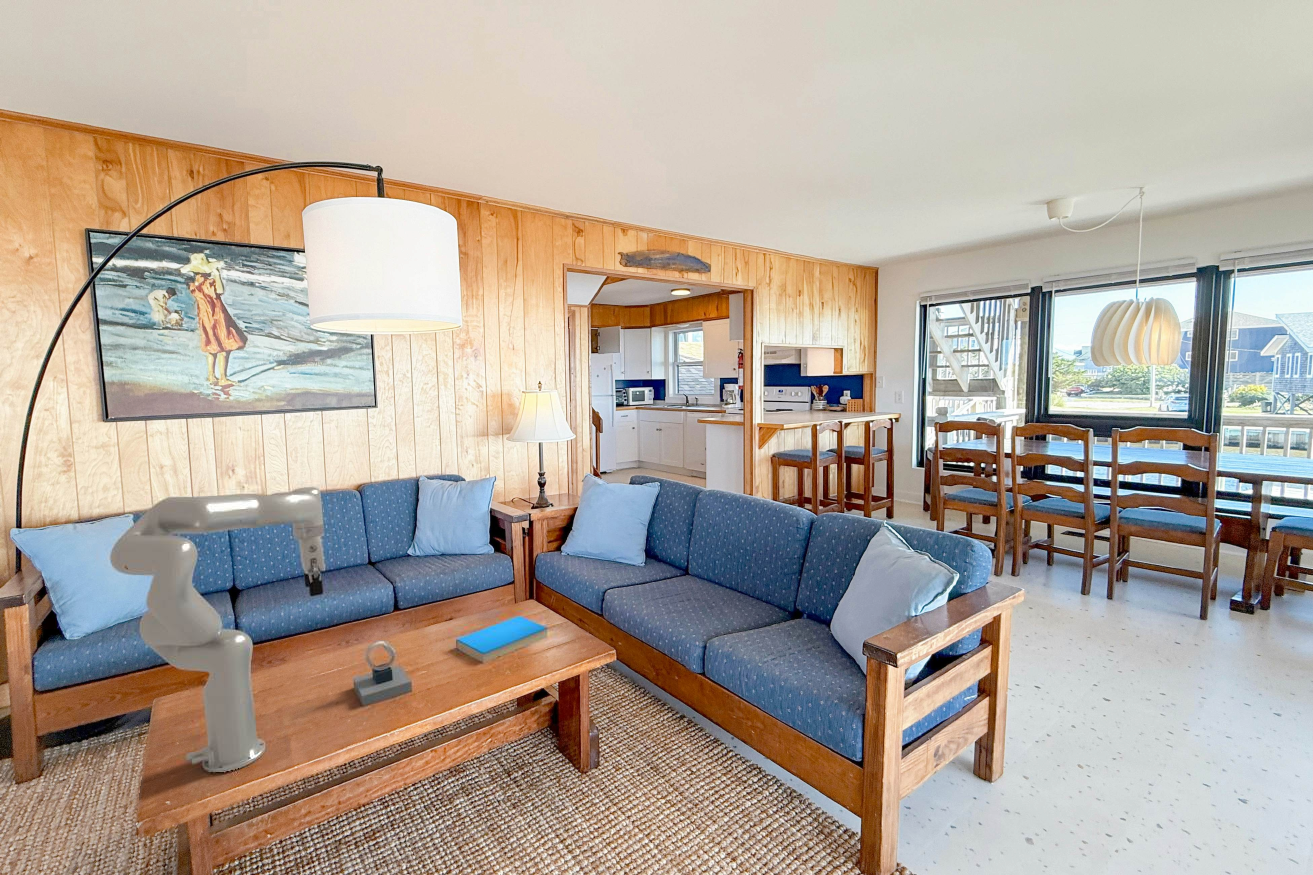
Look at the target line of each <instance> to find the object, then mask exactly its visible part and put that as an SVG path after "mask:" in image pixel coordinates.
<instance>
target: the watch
mask: <svg viewBox="0 0 1313 875" xmlns="http://www.w3.org/2000/svg"><path fill="white" fill-rule="evenodd" d="M380 645H381V646H382V647H383V649H384V650H385V651H386V652H387V653H388V654H389V655H390V656H391V658H390V660H389V661H388V662H386V663H382V664H378V665H375V664H374V663H373V662H372V661H371V659H370V657H369V655H370V653H371V651H372V650H374V648H376V647H378V646H380ZM396 654H397V652H396V650H395V649H394V648H393V646H391V644H390V643H389V642H388V641H387V640H384V641H383V640H379V641H375V642H374V643H372V644H370V646H368V648H367V650H366V652H365V659H366V662H367V664H368V665H369V667H370V668H371V673H372V676H373V679H374V681H375V682H376V684H377V685H378V684H381V683H385V682H388V681H391V680H393V676H392V669H391V667H392V665H393V663H395V660H396V658H397V657H396Z"/></svg>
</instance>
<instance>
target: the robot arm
mask: <svg viewBox="0 0 1313 875" xmlns="http://www.w3.org/2000/svg"><path fill="white" fill-rule="evenodd" d="M322 503H323V502H322V494H321V491H320V489H319V487H318V488H317V487H315V486H308V487H307V486H306V487H298V488H295V489H293V490H291V491H283V492H275V493H270V494H262V493H237V494H236V493H235V494H223V495H221V494H220V495H206V496H205V495H204V496H170V497H166V498H163V499H161V500H160V501H158V502H157V503H155V504H154V505H153V506H151V508H149V509H148V510H147V511H146V512H145V513H143V514H142V516H140V517H139V518H138V520H137V521H135V523H133V524H132V525H131V527H129V529H127V530H126V531H125V532H124V533H123V534H122V535H121V537H119V539H118V540H116V542H115V543H114V545H113V547H112V549H111V551H110V555H109V560H110V564H111V566H112V567H113V569H114V570H116V571H117V572H119V573H121V574H123V575H131V576H153V577H152V580H151V582H150V586H149V589H148V592H147V596H146V599H145V605H146V608H147V610H146V611H145V612H144V614H143V616H141V619H140V623H139V633H140V637H141V639H142V640H143V642H144V643H145V644H146V645H147V646H148V647H150V648H151V649H152V651H154V652H155V653H156V654H157V655H159V657H161V658H162V659H163V660H164V661H166V662H167V663H168V664H169V665H170V666H172V667H175V669H177V670H183V671H192V672H193V671H196V672H198V671H199V672H206V673H209V676H208V678H207V681H206V682H205V685H204V686H203V691H202V699H203V706H204V714H205V715H204V716H205V722H206V725H205V726H206V732H207V742H206V746H204V747H202V748H201V749H198V750H196V751H192V752H188V753H185V761H186V763H190V762H191V764H192V765H197V764H199V763H201V762H202V769H203V768H204V769H205V770H207V771H210V772H224V773H227V772H226V771H229V772H232V771H231V770H233V771H236V770H238V768H239V769H241V768H243V767H245V766H248V765H249V764H252V763H254V762H255V761H256V760H258V759H259V758H260V757H262V755H263V754H265V751H266V749H267V747H266V746H267V745H266V741H265V740H264V739H262V738H259V737H258V733H257V723H256V714H255V704H254V695H253V687H252V675H251V674H252V673H251V672H252V671H251V670H252V668H251V667H252V657H253V652H254V651H253V649H254V644H253V641H252V638H251V637H250V635H248V634H247V633H246V632H244V631H241V630H237V629H232V628H231V629H229V628H223V622H222V618H221V616H220V614H219V613H218V611H217V610H216V609H215V608H214V607H213V606H211V604H210V603H209V602H208V600H206V599H205V598H204V597H203V596H202V595H201V594H200V593H199V592H198V590H197V589H196V588H195V587H194V585H193V577H194V572H195V568H196V564H197V562H198V556H199V555H198V549H197V547H196V545H195V543H194V542H193V541H192V540H191V539H190V538H186V537H184V536H180V535H181V534H183V535H200V534H201V535H203V534H204V535H205V534H212V533H219V532H225V531H227V532H228V531H233V530H241V529H243V530H244V529H252V528H262V527H269V526H277V525H278V526H279V525H289V524H292V532H293V539H294V540H295V541H298V544H299V546H298V547H299V553H300V561H301V562H300V563H301V566H302V568H303V571H304V575H303V576H304V585H305V586H304V587H305V588H309V595H310V597H315V596H320V595H323V594H324V587H323V579H322V575H321V572H325V571H326V564H325V558H324V547H323V543H322V537H324V536H325V529H324V518H323V504H322ZM174 534H176V535H174ZM177 534H179V535H177ZM204 769H203V770H204ZM235 769H236V770H235ZM205 770H204V771H205ZM207 771H206V772H207ZM210 772H209V773H210Z"/></svg>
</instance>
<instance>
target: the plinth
mask: <svg viewBox="0 0 1313 875" xmlns="http://www.w3.org/2000/svg"><path fill="white" fill-rule="evenodd" d="M390 667H391V669H392V676H393V680H391V681H388V682H385V683H381V684H378V685H377V684H376V682H375V681H374V679H373V676H372V672H371V673H367V674H363V675H359V676H356V677H353V679H352V682H353V688H354V692H355V693H356V695H357V697H358V699H359V701H360V704H361V705H362V707H366V706H370V705H373V704H377V703H380V702H382V701H386V700H389V699H393V698H395V697H398V696H403V695H405V694H408V693H412V692H413V686H412V685H413V684H412V680H411V679H410V677H409V676H408V674H407V672H406V671H405V670H404V669H403V668H402V667H403V666H401V665H400V664H398V665H395V666H390Z"/></svg>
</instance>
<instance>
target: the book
mask: <svg viewBox="0 0 1313 875" xmlns="http://www.w3.org/2000/svg"><path fill="white" fill-rule="evenodd" d="M547 638H548V627H547V626H545V625H542V624H541V623H538V622H535V621H533V620H531V619H528V618H525V617H523V616H522V615H521V616H520V615H518V616H515V617H511V618H510V619H506V620H504V621H501V622H498V623H496V624H494V625H491V626H488V627H485V628H482V629H479V630H477V631H475V632H471V633H469V634H466V635H462V636H461V637H459V638H458V637H457V638H456V641H455V647H456V649H457V650H458V649H459V651H460V652H462V653H464V654H466V655H468V656H470V657H472V658H473V659H475V660H476V661H479V662H481V663H483V664H485V663H488V662H490V661H492V659H493V660H495V659H497V657H498V658H500V657H502V656H505V655H507V654H510V653H512V652H514V651H517V650H520V649H521V648H524V647H527V646H528V645H531V644H533V643H536V642H538V641H541V640H543V639H547ZM516 649H517V650H516ZM504 654H505V655H504ZM499 656H500V657H499Z"/></svg>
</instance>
